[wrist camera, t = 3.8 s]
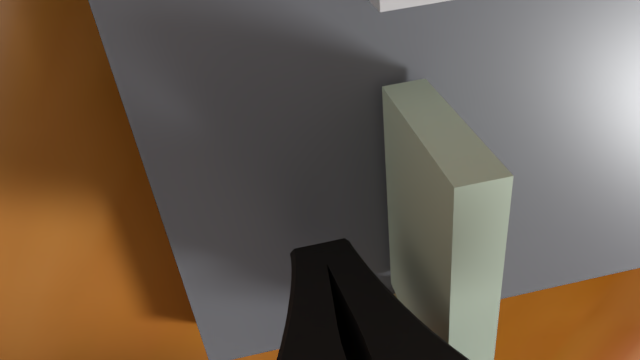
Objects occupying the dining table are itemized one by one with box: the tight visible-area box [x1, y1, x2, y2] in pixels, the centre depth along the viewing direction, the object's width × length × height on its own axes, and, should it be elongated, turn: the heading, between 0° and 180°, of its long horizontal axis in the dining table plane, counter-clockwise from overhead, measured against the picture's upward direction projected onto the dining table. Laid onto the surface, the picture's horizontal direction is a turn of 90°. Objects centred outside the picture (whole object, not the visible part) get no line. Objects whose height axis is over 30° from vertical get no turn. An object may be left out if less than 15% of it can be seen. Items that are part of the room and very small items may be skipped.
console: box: [88, 0, 640, 360], centre depth 13 cm, size 16×22×2 cm
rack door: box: [382, 79, 514, 360], centre depth 13 cm, size 8×1×4 cm, turn 7°
